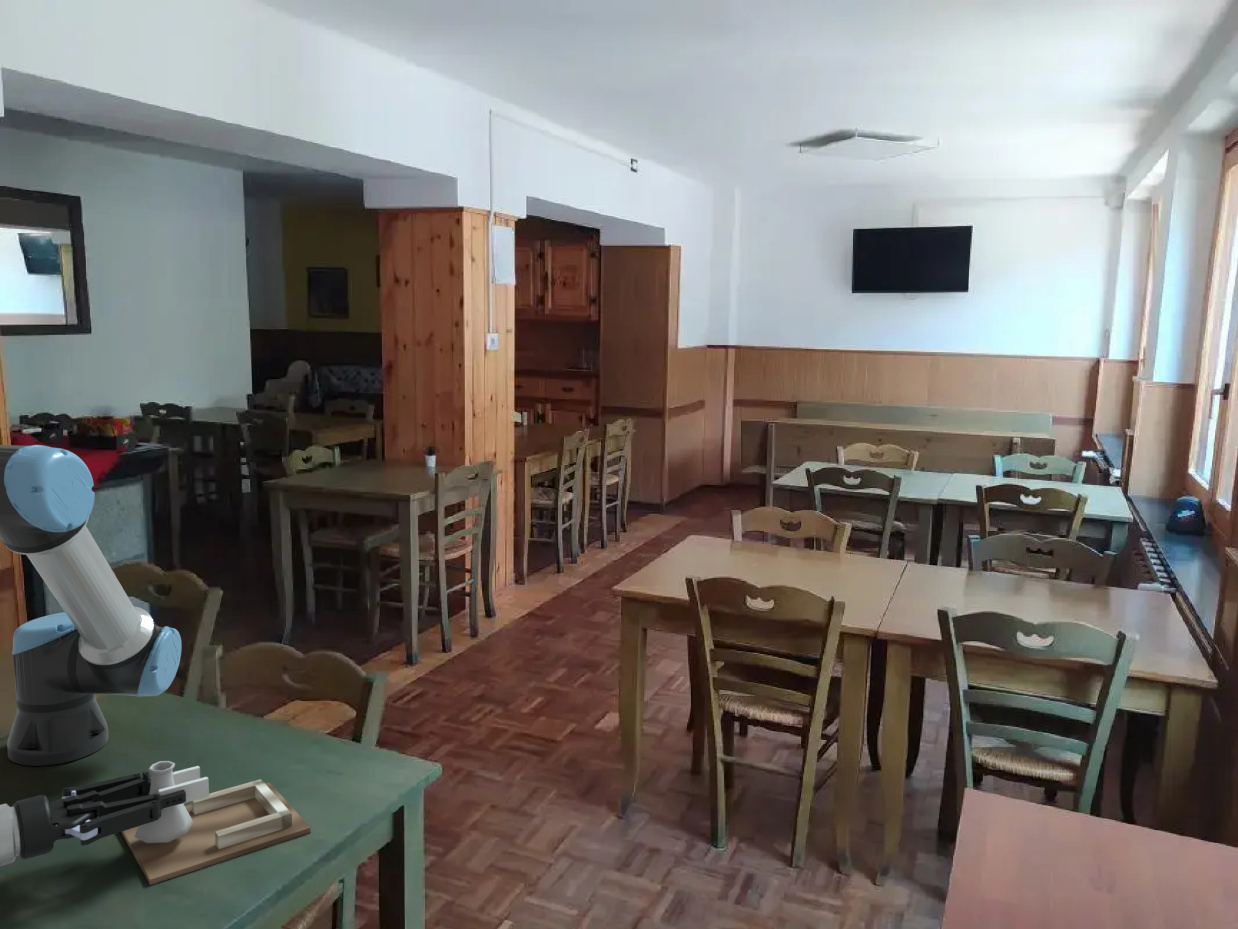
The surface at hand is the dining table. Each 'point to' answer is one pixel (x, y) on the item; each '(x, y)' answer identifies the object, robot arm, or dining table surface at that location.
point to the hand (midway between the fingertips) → (203, 781)
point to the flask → (164, 810)
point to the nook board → (221, 831)
